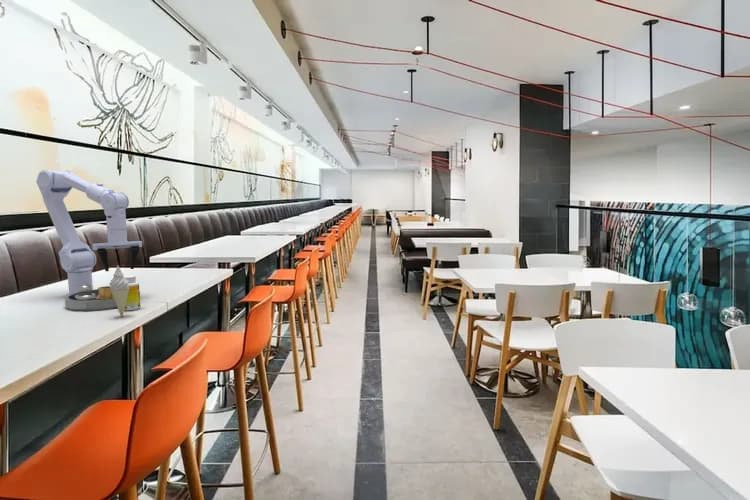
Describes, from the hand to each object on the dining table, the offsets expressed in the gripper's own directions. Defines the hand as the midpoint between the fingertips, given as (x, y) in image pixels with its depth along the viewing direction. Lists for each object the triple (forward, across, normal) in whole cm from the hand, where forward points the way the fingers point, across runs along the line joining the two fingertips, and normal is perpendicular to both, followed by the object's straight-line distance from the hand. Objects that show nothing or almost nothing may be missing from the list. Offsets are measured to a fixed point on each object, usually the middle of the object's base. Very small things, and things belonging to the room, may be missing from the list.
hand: (119, 269), depth 166 cm
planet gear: (+9, -6, -10) cm, 15 cm away
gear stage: (+10, -6, -4) cm, 12 cm away
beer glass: (+10, -1, -18) cm, 21 cm away
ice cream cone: (+10, -5, -26) cm, 28 cm away
